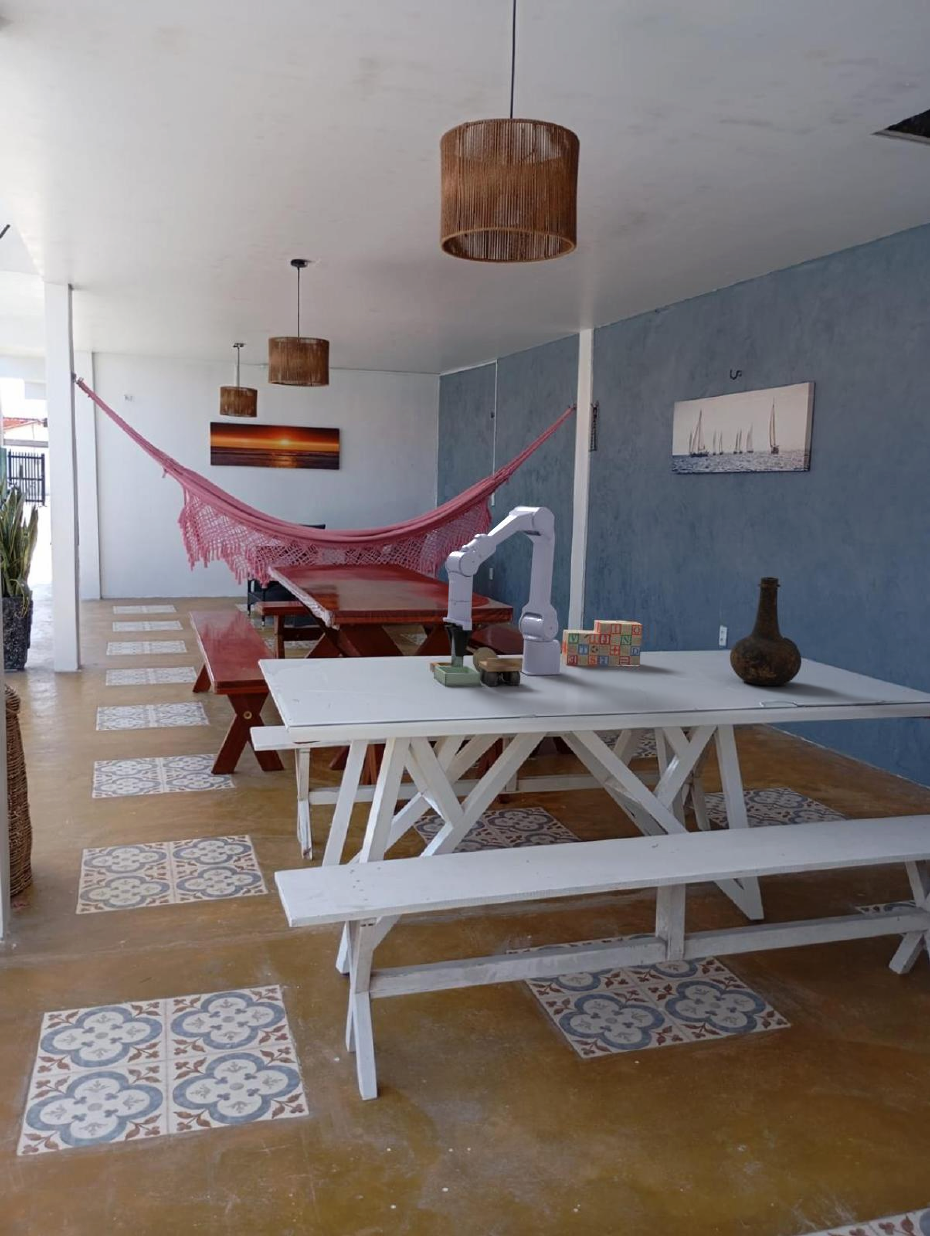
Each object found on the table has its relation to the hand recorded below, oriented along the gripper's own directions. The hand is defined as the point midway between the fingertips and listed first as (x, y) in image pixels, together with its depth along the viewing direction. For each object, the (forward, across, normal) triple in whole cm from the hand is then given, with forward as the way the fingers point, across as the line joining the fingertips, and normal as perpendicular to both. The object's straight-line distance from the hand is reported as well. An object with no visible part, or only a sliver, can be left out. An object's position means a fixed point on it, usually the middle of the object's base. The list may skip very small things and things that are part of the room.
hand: (457, 655), depth 240 cm
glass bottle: (+7, +9, +82) cm, 83 cm away
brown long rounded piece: (+7, -8, +10) cm, 15 cm away
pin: (+3, 0, 0) cm, 3 cm away
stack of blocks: (+7, -21, +49) cm, 54 cm away
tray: (+7, 0, 0) cm, 7 cm away
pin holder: (+7, -13, +1) cm, 15 cm away
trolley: (+7, +4, +10) cm, 13 cm away
